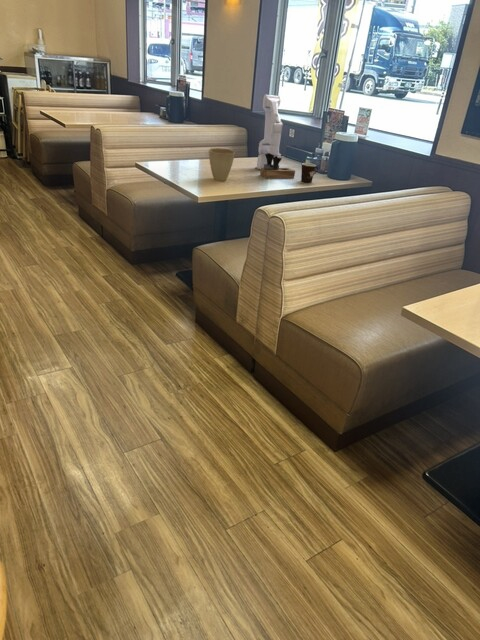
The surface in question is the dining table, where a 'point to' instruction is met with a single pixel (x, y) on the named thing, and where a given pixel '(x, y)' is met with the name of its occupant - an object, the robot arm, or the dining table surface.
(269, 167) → the grey rectangular block
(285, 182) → the dining table surface
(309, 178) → the coffee mug
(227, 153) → the plant pot
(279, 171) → the wooden slotted block
